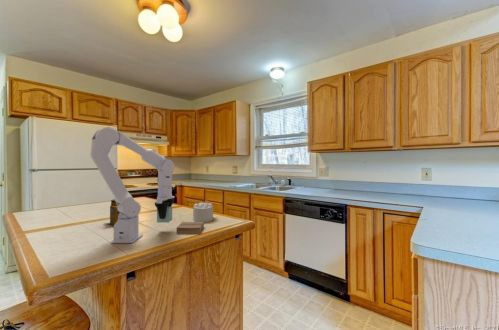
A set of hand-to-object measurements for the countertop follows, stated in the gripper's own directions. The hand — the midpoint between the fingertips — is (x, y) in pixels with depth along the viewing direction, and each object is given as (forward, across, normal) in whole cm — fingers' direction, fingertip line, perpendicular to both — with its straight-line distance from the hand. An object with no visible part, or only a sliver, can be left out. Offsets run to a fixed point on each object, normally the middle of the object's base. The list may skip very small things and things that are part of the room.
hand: (164, 217), depth 105 cm
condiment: (+7, +12, +28) cm, 31 cm away
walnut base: (+7, +2, -11) cm, 13 cm away
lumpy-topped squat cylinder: (+6, +22, -13) cm, 27 cm away
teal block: (+2, 0, 0) cm, 2 cm away
